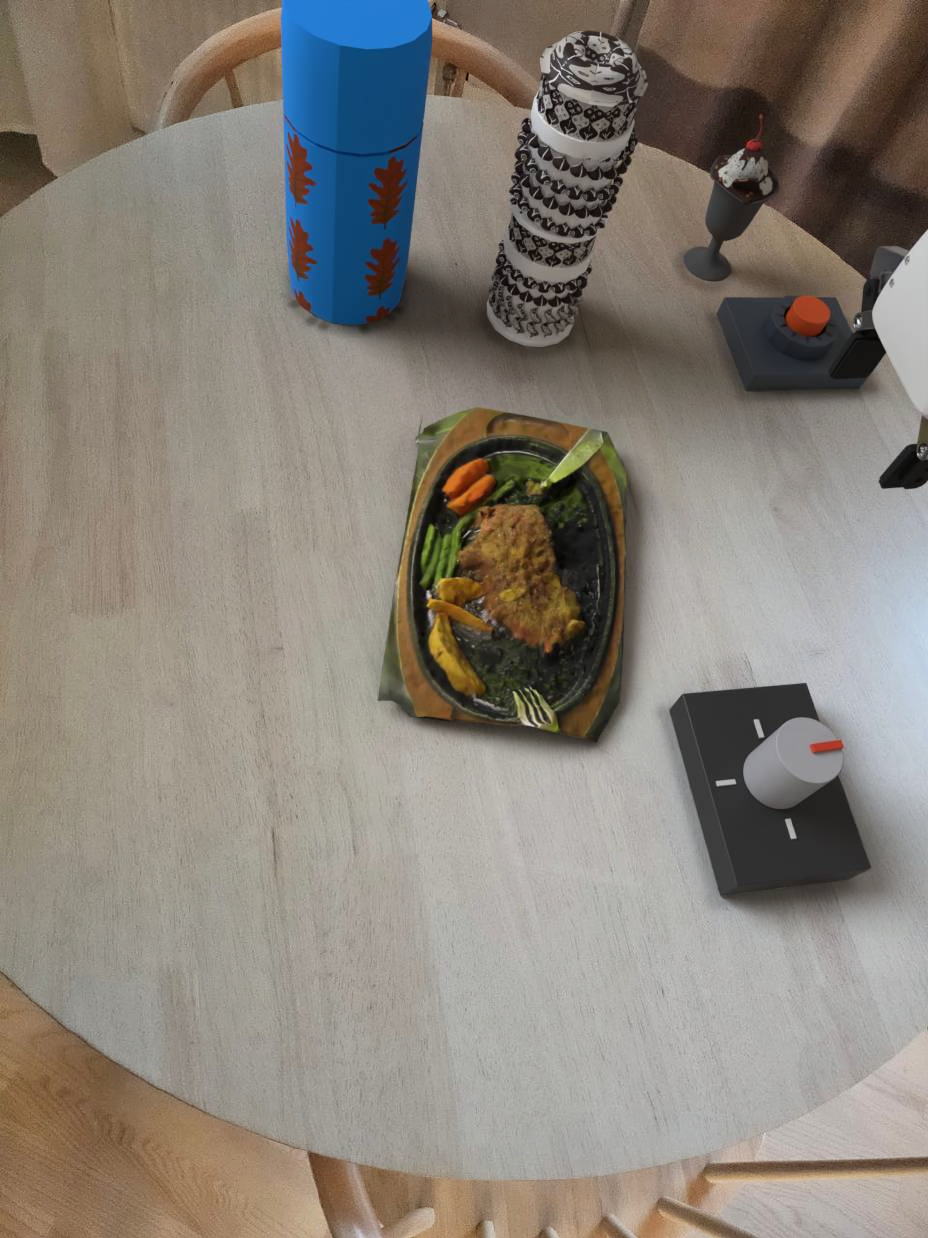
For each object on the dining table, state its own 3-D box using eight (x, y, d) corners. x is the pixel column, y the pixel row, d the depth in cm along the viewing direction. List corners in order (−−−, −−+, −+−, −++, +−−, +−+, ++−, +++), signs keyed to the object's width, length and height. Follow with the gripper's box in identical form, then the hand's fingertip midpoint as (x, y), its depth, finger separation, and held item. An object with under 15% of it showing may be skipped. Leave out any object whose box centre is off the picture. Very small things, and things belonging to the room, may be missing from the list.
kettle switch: (814, 309, 90) (823, 295, 89) (827, 337, 89) (836, 323, 87) (780, 309, 90) (788, 295, 88) (792, 337, 88) (800, 323, 87)
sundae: (704, 233, 99) (763, 96, 86) (750, 272, 97) (818, 138, 84) (661, 255, 97) (716, 117, 84) (708, 296, 95) (771, 161, 82)
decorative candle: (573, 359, 88) (659, 102, 66) (475, 337, 87) (530, 71, 66) (582, 292, 92) (666, 31, 71) (489, 271, 92) (545, 2, 70)
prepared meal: (634, 729, 66) (379, 691, 64) (619, 749, 69) (375, 713, 67) (630, 431, 81) (422, 393, 79) (618, 458, 84) (417, 422, 82)
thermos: (332, 342, 84) (339, 66, 63) (264, 269, 88) (249, -18, 66) (427, 298, 89) (465, 25, 67) (359, 229, 92) (374, -52, 70)
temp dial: (755, 814, 65) (792, 786, 60) (734, 751, 67) (768, 720, 62) (815, 804, 66) (856, 776, 61) (792, 743, 68) (830, 711, 63)
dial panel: (668, 709, 72) (683, 692, 69) (789, 698, 74) (807, 681, 71) (719, 896, 65) (737, 886, 62) (850, 879, 67) (873, 868, 64)
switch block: (825, 313, 96) (845, 282, 92) (859, 389, 91) (881, 359, 88) (715, 314, 94) (731, 282, 90) (745, 391, 89) (762, 360, 85)
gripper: (1169, 338, 48) (969, 526, 63) (1020, 122, 56) (873, 335, 71) (1044, 343, 47) (869, 534, 62) (909, 120, 55) (782, 338, 70)
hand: (871, 427), depth 66 cm, fingers open, 9 cm apart
